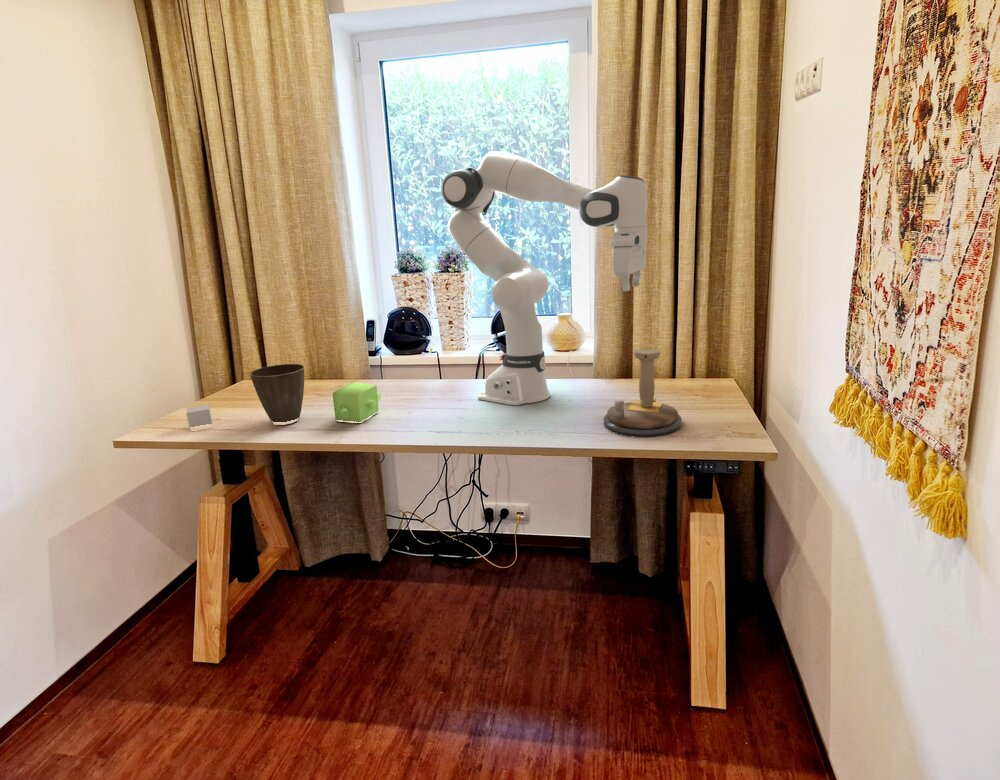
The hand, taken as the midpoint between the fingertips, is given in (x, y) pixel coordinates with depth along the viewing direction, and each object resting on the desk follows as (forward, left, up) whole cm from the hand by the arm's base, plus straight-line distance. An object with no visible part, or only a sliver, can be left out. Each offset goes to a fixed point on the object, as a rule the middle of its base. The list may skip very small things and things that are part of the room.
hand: (631, 288), depth 174 cm
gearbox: (-71, -38, -33) cm, 87 cm away
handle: (+8, -13, -30) cm, 34 cm away
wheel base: (+8, -18, -33) cm, 38 cm away
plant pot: (-91, -47, -33) cm, 108 cm away
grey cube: (-113, -59, -33) cm, 132 cm away
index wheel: (+8, -18, -31) cm, 37 cm away
